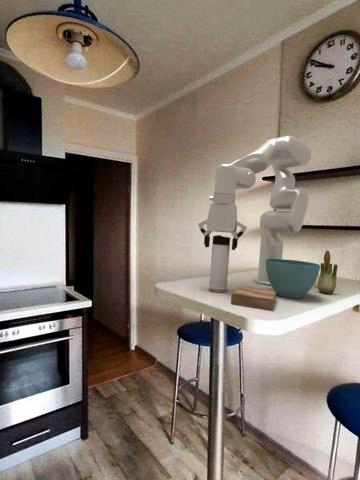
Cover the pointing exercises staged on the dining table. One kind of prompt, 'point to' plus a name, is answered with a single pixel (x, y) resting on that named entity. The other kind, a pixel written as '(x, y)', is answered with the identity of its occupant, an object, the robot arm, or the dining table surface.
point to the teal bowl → (291, 276)
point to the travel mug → (219, 264)
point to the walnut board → (254, 298)
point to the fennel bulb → (327, 278)
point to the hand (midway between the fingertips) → (220, 248)
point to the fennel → (325, 261)
